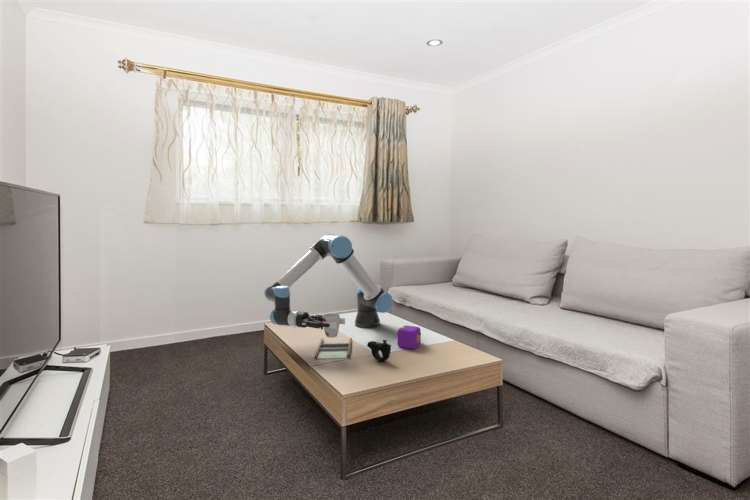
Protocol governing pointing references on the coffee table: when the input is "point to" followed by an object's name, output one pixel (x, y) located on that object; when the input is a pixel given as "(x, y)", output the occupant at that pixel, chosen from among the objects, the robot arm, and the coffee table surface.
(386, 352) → the controller
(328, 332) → the cup
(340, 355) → the pad
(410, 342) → the toy camera
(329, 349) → the tray
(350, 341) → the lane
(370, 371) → the coffee table surface
